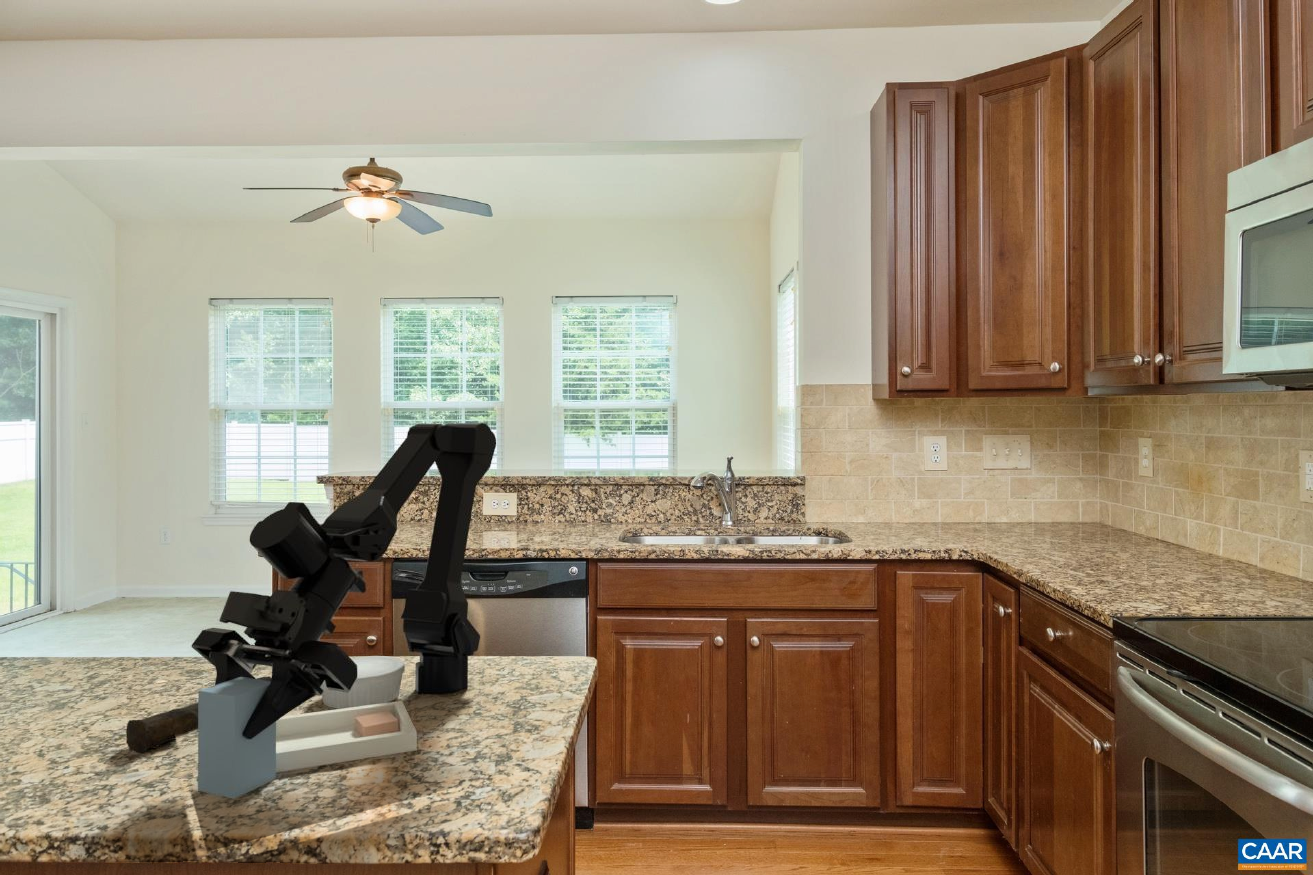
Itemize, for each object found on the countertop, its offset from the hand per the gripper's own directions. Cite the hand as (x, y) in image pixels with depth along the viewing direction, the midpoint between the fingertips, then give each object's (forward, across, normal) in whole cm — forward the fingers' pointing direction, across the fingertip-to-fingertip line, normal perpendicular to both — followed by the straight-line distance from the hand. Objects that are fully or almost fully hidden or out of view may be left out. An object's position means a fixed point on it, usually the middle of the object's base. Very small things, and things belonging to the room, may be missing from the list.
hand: (226, 733), depth 80 cm
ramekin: (-15, -8, +25) cm, 30 cm away
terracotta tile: (-9, +3, +17) cm, 20 cm away
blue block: (+4, 0, +6) cm, 7 cm away
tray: (-5, +1, +14) cm, 15 cm away
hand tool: (-5, -20, +15) cm, 25 cm away
